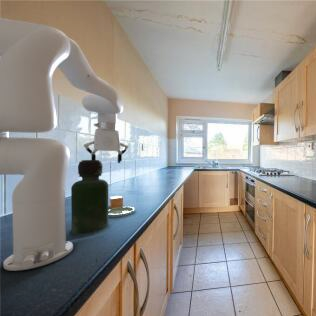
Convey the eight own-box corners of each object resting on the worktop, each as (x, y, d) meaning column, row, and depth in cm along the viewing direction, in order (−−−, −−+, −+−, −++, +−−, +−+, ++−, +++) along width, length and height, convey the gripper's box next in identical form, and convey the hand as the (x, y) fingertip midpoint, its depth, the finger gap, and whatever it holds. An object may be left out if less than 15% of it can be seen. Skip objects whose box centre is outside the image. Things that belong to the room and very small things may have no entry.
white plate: (136, 214, 83) (136, 211, 83) (107, 219, 75) (107, 216, 75) (131, 208, 91) (131, 205, 91) (104, 212, 84) (104, 209, 83)
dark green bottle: (70, 237, 59) (70, 161, 59) (72, 227, 68) (72, 159, 67) (109, 229, 66) (109, 160, 65) (107, 221, 74) (107, 159, 73)
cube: (122, 207, 92) (122, 197, 92) (110, 209, 89) (110, 199, 88) (121, 205, 96) (121, 195, 96) (109, 206, 92) (109, 197, 92)
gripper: (83, 124, 79) (83, 163, 79) (129, 128, 90) (129, 163, 91) (83, 125, 85) (83, 162, 85) (126, 129, 96) (126, 162, 96)
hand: (107, 162), depth 88 cm, fingers open, 9 cm apart
